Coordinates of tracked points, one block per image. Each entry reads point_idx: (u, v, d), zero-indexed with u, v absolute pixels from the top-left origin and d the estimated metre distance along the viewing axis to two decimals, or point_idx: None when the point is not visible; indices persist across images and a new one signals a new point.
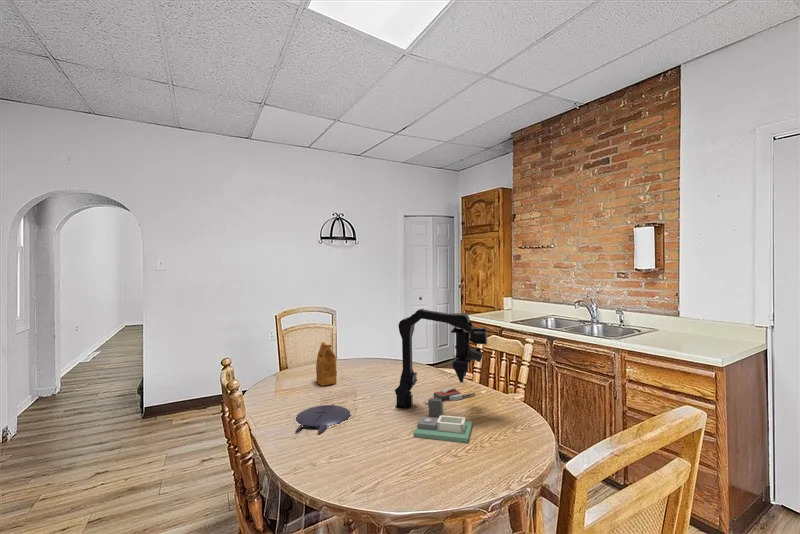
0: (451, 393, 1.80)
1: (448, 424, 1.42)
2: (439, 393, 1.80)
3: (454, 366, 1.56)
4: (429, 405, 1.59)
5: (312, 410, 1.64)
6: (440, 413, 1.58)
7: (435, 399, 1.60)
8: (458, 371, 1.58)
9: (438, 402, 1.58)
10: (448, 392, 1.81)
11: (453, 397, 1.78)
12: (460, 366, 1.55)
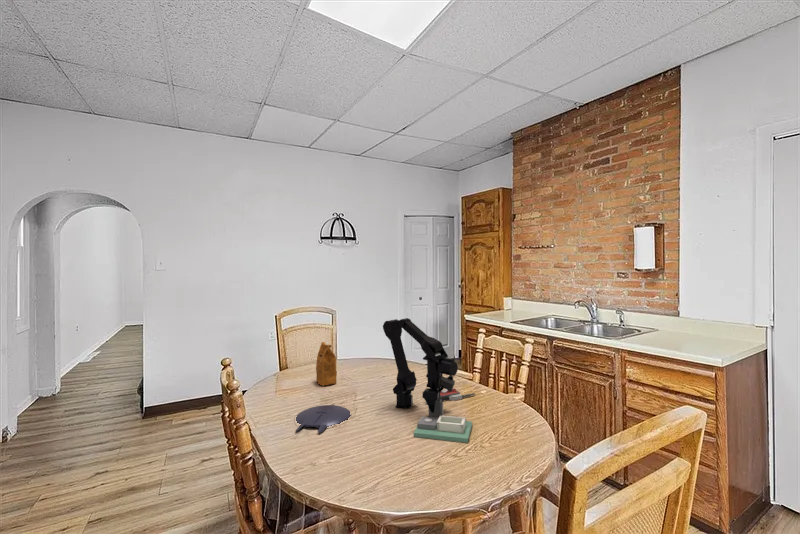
0: (451, 393, 1.80)
1: (448, 424, 1.42)
2: None
3: (424, 396, 1.52)
4: None
5: (312, 410, 1.64)
6: (440, 413, 1.58)
7: None
8: (429, 401, 1.55)
9: (438, 402, 1.58)
10: (448, 392, 1.81)
11: (453, 397, 1.78)
12: (430, 396, 1.51)
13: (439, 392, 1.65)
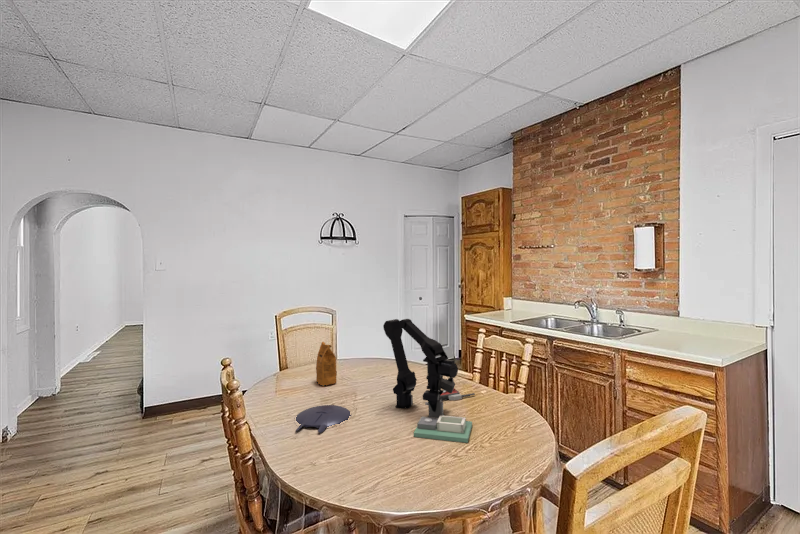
0: (450, 393, 1.80)
1: (448, 424, 1.42)
2: None
3: (424, 398, 1.52)
4: (429, 405, 1.59)
5: (312, 410, 1.64)
6: (440, 413, 1.58)
7: None
8: (430, 400, 1.58)
9: (438, 402, 1.58)
10: (447, 392, 1.81)
11: (452, 397, 1.78)
12: (430, 398, 1.51)
13: None
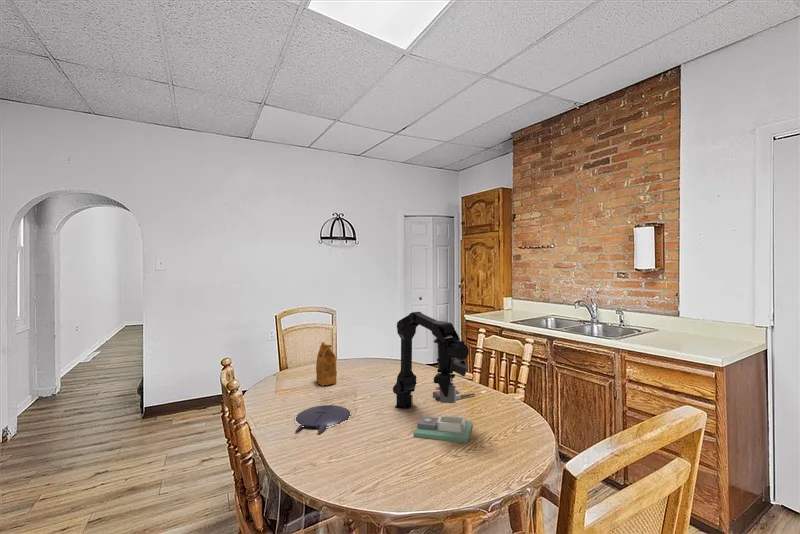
0: None
1: (448, 424, 1.42)
2: (438, 392, 1.81)
3: (435, 381, 1.40)
4: (440, 390, 1.48)
5: (312, 410, 1.64)
6: (452, 398, 1.47)
7: None
8: (442, 384, 1.46)
9: (450, 386, 1.47)
10: None
11: None
12: (442, 381, 1.39)
13: None
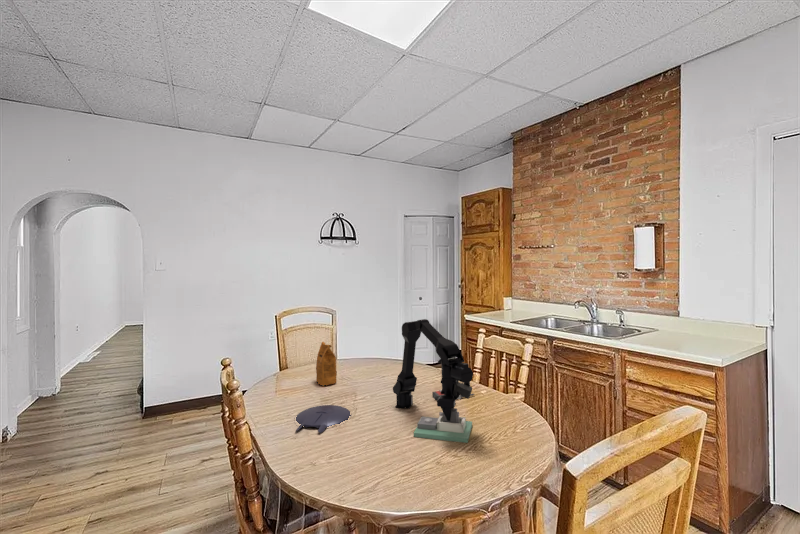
0: None
1: (448, 424, 1.42)
2: (437, 392, 1.81)
3: (439, 405, 1.37)
4: (444, 416, 1.44)
5: (312, 410, 1.64)
6: None
7: None
8: (444, 408, 1.41)
9: (454, 412, 1.43)
10: None
11: None
12: (445, 405, 1.36)
13: None
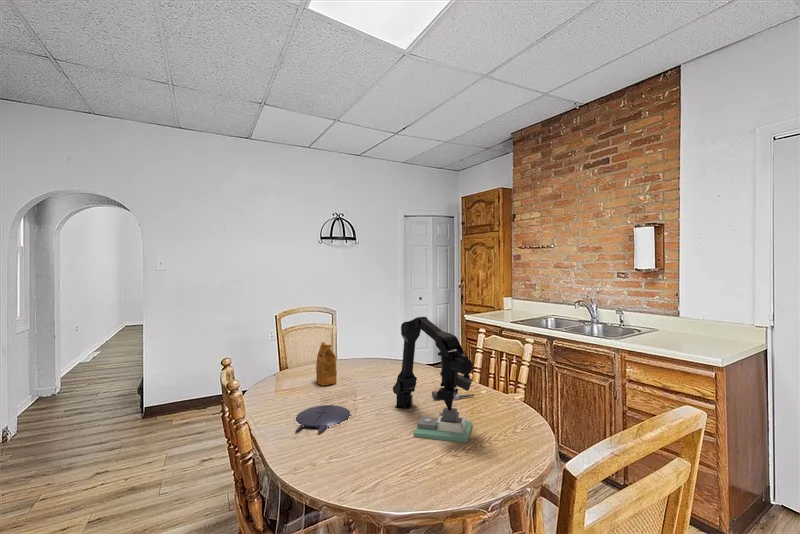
0: None
1: (448, 424, 1.42)
2: (436, 392, 1.81)
3: (438, 397, 1.37)
4: (444, 416, 1.44)
5: (312, 410, 1.64)
6: None
7: None
8: None
9: (454, 412, 1.43)
10: None
11: None
12: (445, 397, 1.36)
13: None
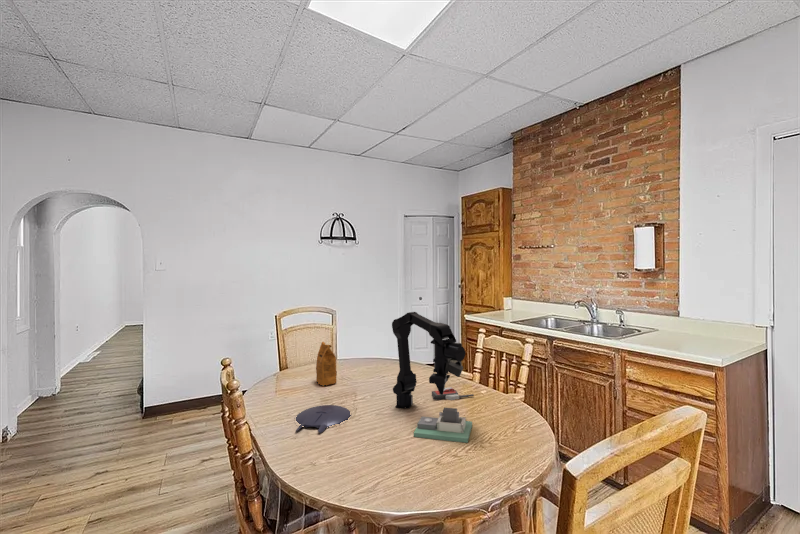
0: (448, 393, 1.81)
1: (448, 424, 1.42)
2: (436, 392, 1.82)
3: (431, 381, 1.46)
4: (444, 416, 1.44)
5: (312, 410, 1.64)
6: None
7: (450, 409, 1.45)
8: None
9: (454, 412, 1.43)
10: (445, 391, 1.82)
11: (449, 397, 1.78)
12: (437, 382, 1.45)
13: None
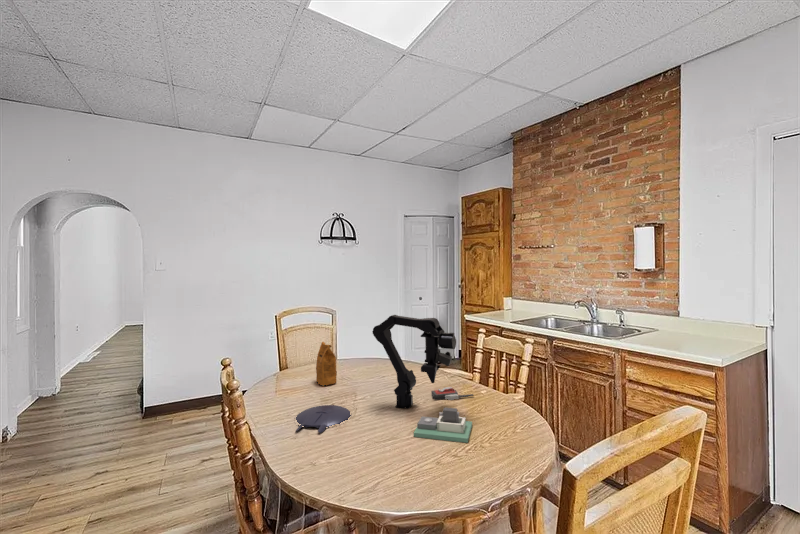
0: (448, 392, 1.81)
1: (448, 424, 1.42)
2: (436, 391, 1.82)
3: (422, 370, 1.58)
4: (444, 416, 1.44)
5: (312, 410, 1.64)
6: None
7: (450, 409, 1.45)
8: (429, 372, 1.65)
9: (454, 412, 1.43)
10: (445, 391, 1.82)
11: (449, 396, 1.78)
12: (428, 370, 1.57)
13: None
